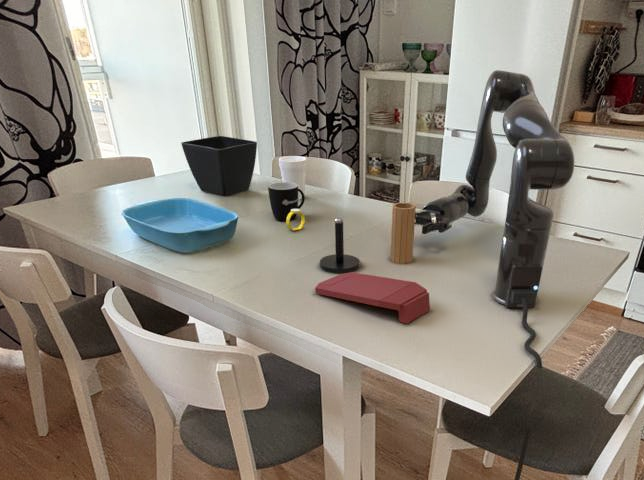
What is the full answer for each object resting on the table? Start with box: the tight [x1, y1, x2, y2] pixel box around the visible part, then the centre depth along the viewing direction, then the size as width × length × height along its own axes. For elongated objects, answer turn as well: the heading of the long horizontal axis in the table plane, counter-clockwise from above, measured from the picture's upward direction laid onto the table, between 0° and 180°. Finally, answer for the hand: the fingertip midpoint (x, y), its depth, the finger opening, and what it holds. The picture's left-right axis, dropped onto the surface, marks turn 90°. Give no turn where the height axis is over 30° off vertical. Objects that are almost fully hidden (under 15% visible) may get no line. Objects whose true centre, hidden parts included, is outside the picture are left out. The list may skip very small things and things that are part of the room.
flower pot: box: [180, 135, 258, 197], centre depth 186 cm, size 19×19×17 cm
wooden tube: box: [390, 202, 417, 265], centre depth 131 cm, size 6×6×14 cm
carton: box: [314, 271, 431, 325], centre depth 114 cm, size 12×5×25 cm
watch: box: [285, 208, 306, 232], centre depth 152 cm, size 6×3×6 cm, turn 134°
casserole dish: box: [121, 197, 239, 254], centre depth 145 cm, size 37×22×7 cm, turn 49°
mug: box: [267, 181, 305, 223], centre depth 161 cm, size 12×9×10 cm
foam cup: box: [278, 155, 308, 200], centre depth 180 cm, size 10×9×13 cm
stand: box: [319, 217, 361, 274], centre depth 127 cm, size 10×10×12 cm
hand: (409, 226), depth 132 cm, fingers open, 8 cm apart
